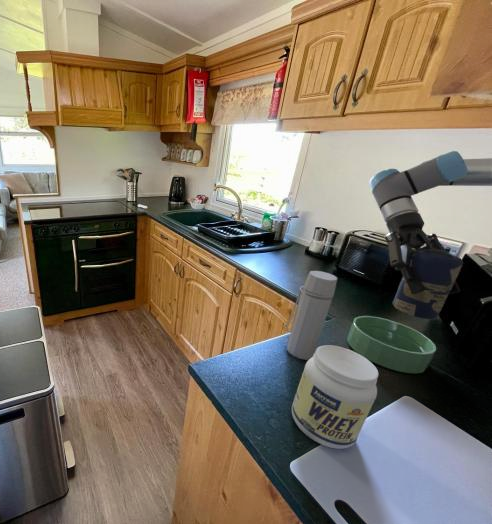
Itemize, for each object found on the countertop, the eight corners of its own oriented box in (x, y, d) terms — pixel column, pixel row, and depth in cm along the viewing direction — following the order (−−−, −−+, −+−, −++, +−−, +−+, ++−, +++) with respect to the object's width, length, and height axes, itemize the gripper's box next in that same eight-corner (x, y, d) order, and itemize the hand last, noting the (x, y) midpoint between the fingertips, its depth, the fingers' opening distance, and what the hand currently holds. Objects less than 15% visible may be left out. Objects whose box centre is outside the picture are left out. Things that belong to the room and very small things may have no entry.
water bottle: (318, 356, 84) (345, 278, 76) (304, 365, 80) (330, 283, 71) (289, 339, 91) (310, 266, 83) (274, 346, 87) (295, 270, 78)
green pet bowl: (423, 352, 89) (433, 333, 87) (427, 385, 76) (439, 364, 73) (350, 327, 101) (357, 309, 98) (342, 351, 87) (349, 332, 85)
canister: (424, 324, 73) (456, 258, 67) (383, 306, 81) (408, 245, 75) (443, 318, 77) (475, 254, 70) (401, 302, 85) (426, 243, 79)
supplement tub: (291, 436, 59) (314, 370, 53) (288, 394, 69) (307, 335, 63) (362, 463, 54) (395, 394, 48) (348, 414, 65) (374, 352, 59)
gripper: (423, 226, 87) (457, 297, 78) (356, 223, 85) (383, 296, 75) (450, 212, 80) (491, 288, 71) (378, 208, 78) (411, 286, 69)
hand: (436, 292), depth 73 cm, fingers closed on canister, 10 cm apart
